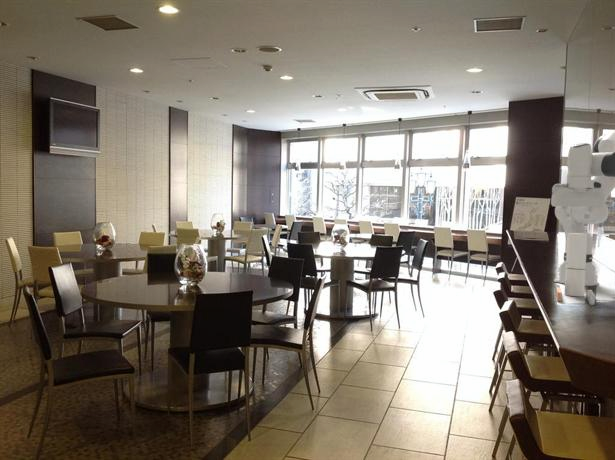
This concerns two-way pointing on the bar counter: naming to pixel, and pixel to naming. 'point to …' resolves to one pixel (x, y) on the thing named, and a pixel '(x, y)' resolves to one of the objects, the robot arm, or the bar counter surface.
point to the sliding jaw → (558, 292)
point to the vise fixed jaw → (591, 297)
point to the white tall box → (575, 264)
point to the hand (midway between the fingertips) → (576, 218)
